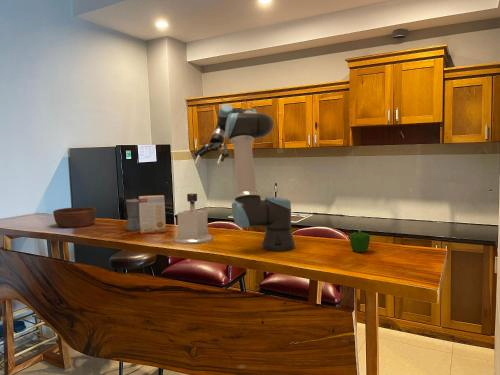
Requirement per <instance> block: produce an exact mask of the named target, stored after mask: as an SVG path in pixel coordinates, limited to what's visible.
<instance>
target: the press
mask: <svg viewBox="0 0 500 375" xmlns="http://www.w3.org/2000/svg"><path fill="white" fill-rule="evenodd" d="M208 229H209V228H208V210H203V209H202V210H200V209H199V210H198V209H195V212H190V209H186V210H183V211H180V212H177V235H176V236H174V237H173V238H172V239H173V242H174V243H176V244H181V245H196V244H198V245H199V244H203V243H204V244H205V243H208V242H211V241H212V240H214V236H213V235H212V234H209V232H208Z"/></svg>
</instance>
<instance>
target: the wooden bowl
mask: <svg viewBox="0 0 500 375" xmlns="http://www.w3.org/2000/svg"><path fill="white" fill-rule="evenodd" d="M52 214H53V218H54V222H55V223H56V225H57V227H59V228H62V229H63V228H64V229H67V228H68V229H72V228H73V229H74V228H82V227H89V226H91V225H93V224H94V223H95V220H96V218H97V208H96V207H92V206H91V207H90V206H88V207H87V206H78V207H77V206H74V207H65V208H59V209H55V210H53V212H52Z"/></svg>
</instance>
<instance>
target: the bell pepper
mask: <svg viewBox="0 0 500 375" xmlns="http://www.w3.org/2000/svg"><path fill="white" fill-rule="evenodd" d="M370 242H371V236H370V234H369V233H366V232H362V229H358V232H356V231H354V232H353V233H350V235H349V243H350V247H351V250H352V251H354V252H356V253H365V252H367V250H368V249H369V245H370Z"/></svg>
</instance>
